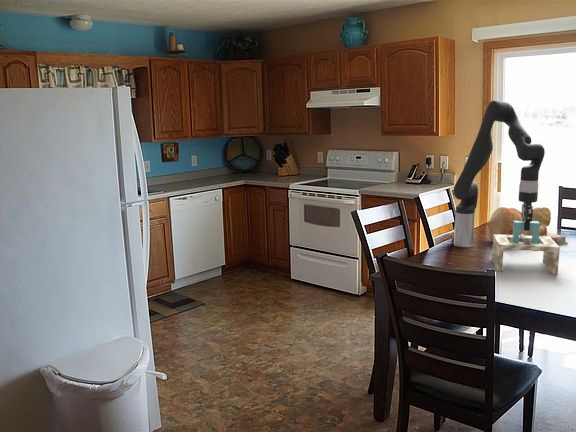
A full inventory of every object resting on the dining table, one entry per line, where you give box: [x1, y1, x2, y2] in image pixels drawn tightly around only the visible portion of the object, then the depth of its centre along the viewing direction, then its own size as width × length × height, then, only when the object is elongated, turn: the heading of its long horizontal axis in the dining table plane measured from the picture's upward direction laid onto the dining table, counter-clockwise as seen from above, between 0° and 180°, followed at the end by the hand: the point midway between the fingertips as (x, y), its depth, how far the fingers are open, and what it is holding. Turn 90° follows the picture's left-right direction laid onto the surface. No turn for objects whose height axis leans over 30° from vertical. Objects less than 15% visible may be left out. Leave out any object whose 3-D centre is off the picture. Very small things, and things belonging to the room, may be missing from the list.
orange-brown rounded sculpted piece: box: [486, 206, 548, 243], centre depth 287 cm, size 20×19×30 cm
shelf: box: [491, 234, 561, 276], centre depth 245 cm, size 24×20×13 cm
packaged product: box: [547, 231, 569, 246], centre depth 291 cm, size 18×5×10 cm
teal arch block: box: [512, 221, 540, 244], centre depth 244 cm, size 10×4×12 cm, turn 77°
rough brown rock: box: [508, 206, 552, 227], centre depth 313 cm, size 23×16×15 cm
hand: (525, 229), depth 243 cm, fingers closed on teal arch block, 4 cm apart
